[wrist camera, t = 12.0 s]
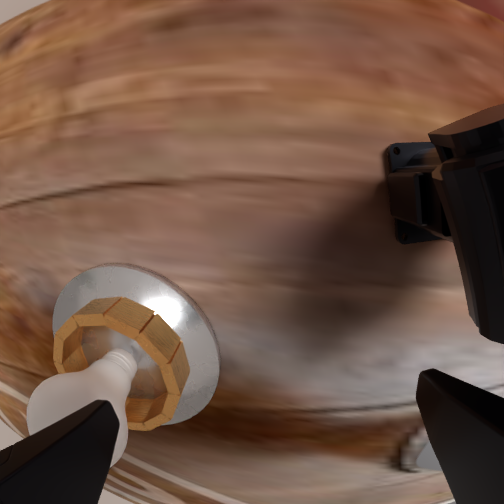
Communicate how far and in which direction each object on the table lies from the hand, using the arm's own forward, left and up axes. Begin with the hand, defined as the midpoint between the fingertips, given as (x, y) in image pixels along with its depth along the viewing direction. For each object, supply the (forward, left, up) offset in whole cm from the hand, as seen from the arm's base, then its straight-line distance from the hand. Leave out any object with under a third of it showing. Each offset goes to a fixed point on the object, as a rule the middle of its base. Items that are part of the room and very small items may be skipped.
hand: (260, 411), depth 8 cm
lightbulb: (+11, +5, -12) cm, 17 cm away
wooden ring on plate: (+11, +5, -13) cm, 18 cm away
